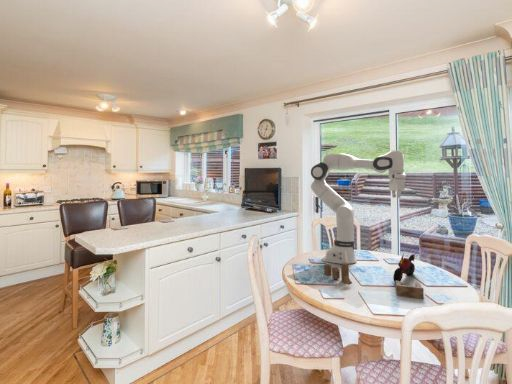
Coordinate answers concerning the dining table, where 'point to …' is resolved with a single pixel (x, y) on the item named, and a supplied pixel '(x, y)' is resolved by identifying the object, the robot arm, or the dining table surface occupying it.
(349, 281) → the wooden block set
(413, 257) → the toy motorcycle
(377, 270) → the dining table surface
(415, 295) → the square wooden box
